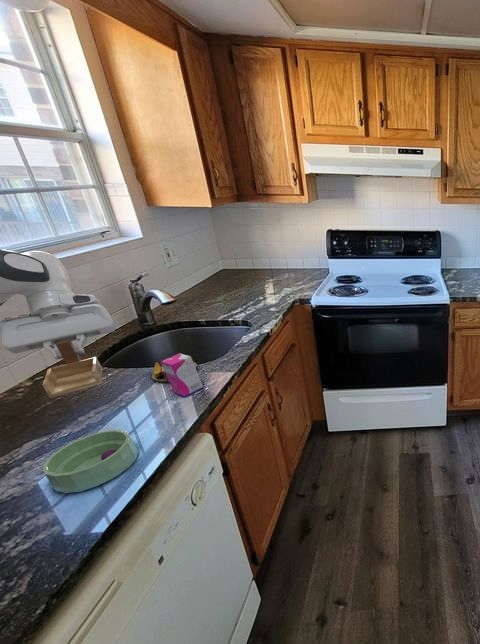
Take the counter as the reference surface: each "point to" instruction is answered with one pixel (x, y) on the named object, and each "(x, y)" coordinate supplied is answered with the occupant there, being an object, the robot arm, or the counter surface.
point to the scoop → (72, 372)
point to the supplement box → (182, 375)
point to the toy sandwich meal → (161, 373)
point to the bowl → (90, 461)
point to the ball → (107, 454)
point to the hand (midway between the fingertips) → (70, 355)
